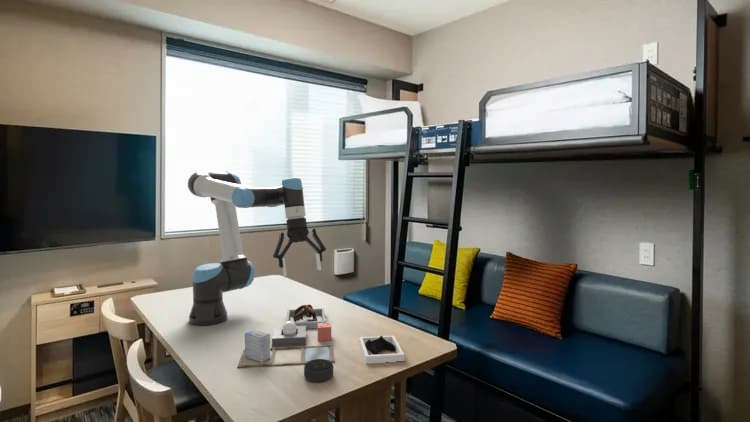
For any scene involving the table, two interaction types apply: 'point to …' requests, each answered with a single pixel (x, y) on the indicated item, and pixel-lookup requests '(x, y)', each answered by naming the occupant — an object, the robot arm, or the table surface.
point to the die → (324, 331)
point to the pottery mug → (304, 313)
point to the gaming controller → (378, 346)
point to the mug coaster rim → (308, 324)
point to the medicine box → (257, 345)
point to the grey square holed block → (289, 337)
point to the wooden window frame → (311, 354)
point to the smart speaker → (318, 370)
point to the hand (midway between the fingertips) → (302, 273)
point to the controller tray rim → (381, 357)
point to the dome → (289, 328)
